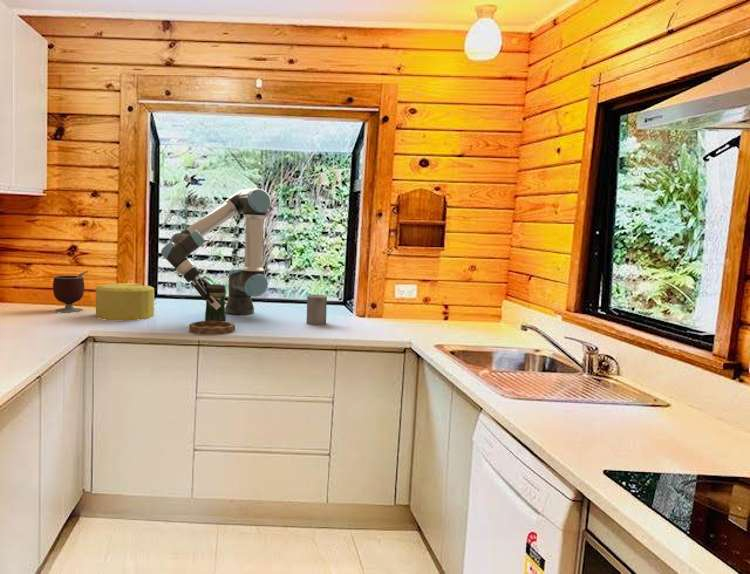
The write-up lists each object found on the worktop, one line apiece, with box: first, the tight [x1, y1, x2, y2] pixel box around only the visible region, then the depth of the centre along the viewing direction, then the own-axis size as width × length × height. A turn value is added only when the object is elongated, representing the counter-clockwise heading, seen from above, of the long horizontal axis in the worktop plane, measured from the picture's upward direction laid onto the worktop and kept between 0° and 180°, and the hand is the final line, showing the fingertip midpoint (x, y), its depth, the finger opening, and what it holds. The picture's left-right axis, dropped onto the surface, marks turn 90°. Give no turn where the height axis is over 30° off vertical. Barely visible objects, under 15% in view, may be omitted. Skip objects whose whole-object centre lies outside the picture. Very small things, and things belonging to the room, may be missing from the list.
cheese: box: [95, 282, 155, 321], centre depth 289 cm, size 26×26×15 cm
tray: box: [188, 320, 236, 335], centre depth 265 cm, size 19×19×3 cm
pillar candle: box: [306, 293, 328, 326], centre depth 294 cm, size 10×10×15 cm
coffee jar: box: [204, 283, 227, 322], centre depth 280 cm, size 10×8×19 cm
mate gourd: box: [52, 270, 88, 314], centre depth 297 cm, size 16×14×20 cm
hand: (221, 306), depth 280 cm, fingers open, 10 cm apart
